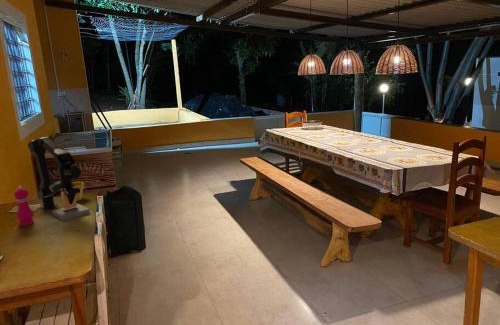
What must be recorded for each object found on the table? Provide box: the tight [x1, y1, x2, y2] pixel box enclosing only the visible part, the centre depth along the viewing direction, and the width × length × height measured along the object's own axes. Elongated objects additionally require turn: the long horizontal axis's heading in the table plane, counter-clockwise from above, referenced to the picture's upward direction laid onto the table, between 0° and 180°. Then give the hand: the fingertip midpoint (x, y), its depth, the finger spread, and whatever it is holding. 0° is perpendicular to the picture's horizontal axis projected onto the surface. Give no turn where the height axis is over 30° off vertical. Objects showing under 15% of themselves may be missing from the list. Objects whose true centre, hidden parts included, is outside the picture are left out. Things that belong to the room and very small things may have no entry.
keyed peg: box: [60, 191, 78, 209], centre depth 195 cm, size 6×4×9 cm, turn 138°
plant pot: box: [72, 181, 85, 202], centre depth 221 cm, size 10×10×10 cm
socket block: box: [51, 203, 90, 222], centre depth 196 cm, size 14×14×3 cm
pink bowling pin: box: [13, 185, 34, 226], centre depth 183 cm, size 7×7×20 cm
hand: (69, 203), depth 195 cm, fingers closed on keyed peg, 3 cm apart
